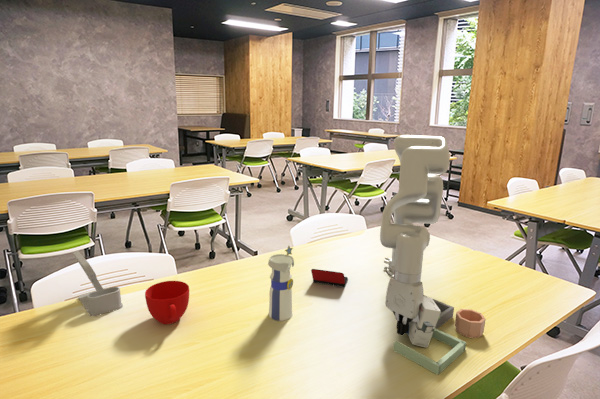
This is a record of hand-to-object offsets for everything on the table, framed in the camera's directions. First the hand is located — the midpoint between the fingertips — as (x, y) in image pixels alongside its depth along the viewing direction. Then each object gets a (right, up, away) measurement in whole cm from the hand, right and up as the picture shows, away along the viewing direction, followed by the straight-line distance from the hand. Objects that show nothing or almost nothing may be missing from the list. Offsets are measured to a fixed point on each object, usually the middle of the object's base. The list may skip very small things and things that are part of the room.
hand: (402, 332), depth 113 cm
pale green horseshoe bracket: (+6, -3, -6) cm, 9 cm away
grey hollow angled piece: (-98, +4, +17) cm, 99 cm away
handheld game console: (-19, +7, +35) cm, 40 cm away
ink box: (+4, -1, -1) cm, 4 cm away
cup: (+22, -1, +4) cm, 22 cm away
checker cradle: (+11, +1, +12) cm, 17 cm away
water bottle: (-36, +2, +12) cm, 38 cm away
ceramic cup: (-70, +1, +6) cm, 71 cm away
